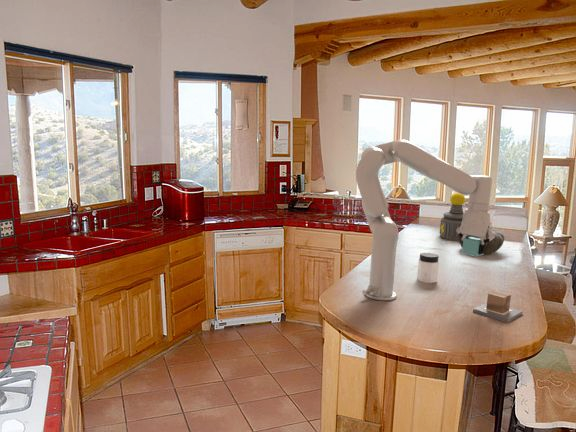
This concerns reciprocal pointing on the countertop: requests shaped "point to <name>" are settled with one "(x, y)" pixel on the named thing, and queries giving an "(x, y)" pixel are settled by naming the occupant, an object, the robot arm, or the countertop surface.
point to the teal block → (471, 246)
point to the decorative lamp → (452, 218)
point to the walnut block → (498, 301)
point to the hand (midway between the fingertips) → (472, 251)
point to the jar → (428, 268)
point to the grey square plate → (504, 316)
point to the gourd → (494, 243)
